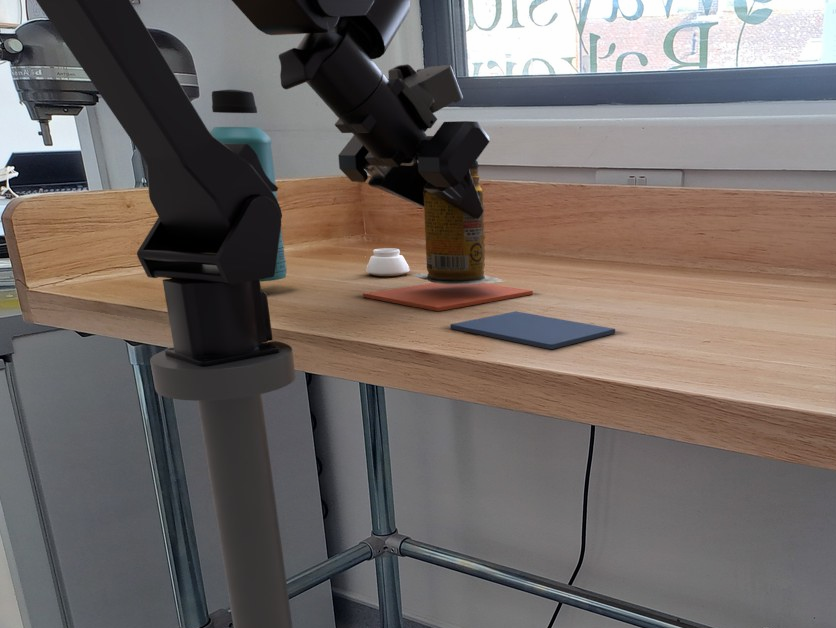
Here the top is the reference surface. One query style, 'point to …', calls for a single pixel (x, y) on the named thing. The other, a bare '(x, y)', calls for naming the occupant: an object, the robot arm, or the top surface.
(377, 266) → the white jar
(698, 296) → the top surface
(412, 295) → the terracotta mat
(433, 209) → the condiment
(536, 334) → the slate mat
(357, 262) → the top surface
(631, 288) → the top surface
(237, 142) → the beverage bottle
